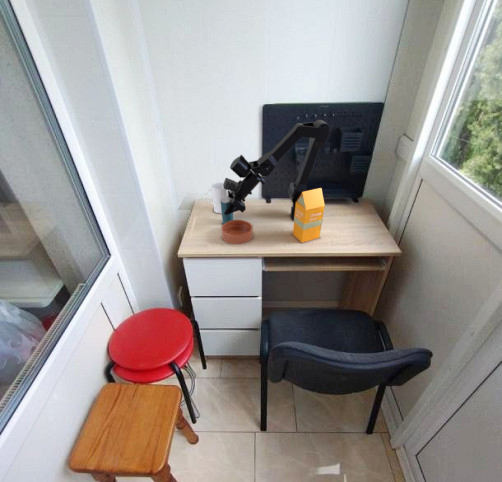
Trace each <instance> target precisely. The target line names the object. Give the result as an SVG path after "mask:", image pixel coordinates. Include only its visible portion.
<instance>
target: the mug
mask: <svg viewBox="0 0 502 482" xmlns="http://www.w3.org/2000/svg"><path fill="white" fill-rule="evenodd" d="M223 184H224V181H223V182H222V181H219V182H215V183H212V184H211V187H210V188H208V189H207V190H206V192H205V194H204V196H205V201H206V202H207V203H209V205H212V206H213V212H214V213H216V214H222V212H221V203H220V200H221V198H224V197H228V190H226V189H224V186H223ZM209 192H211V195H212V201H210V200H209V199H208V197H207V195H208V193H209Z"/></svg>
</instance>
